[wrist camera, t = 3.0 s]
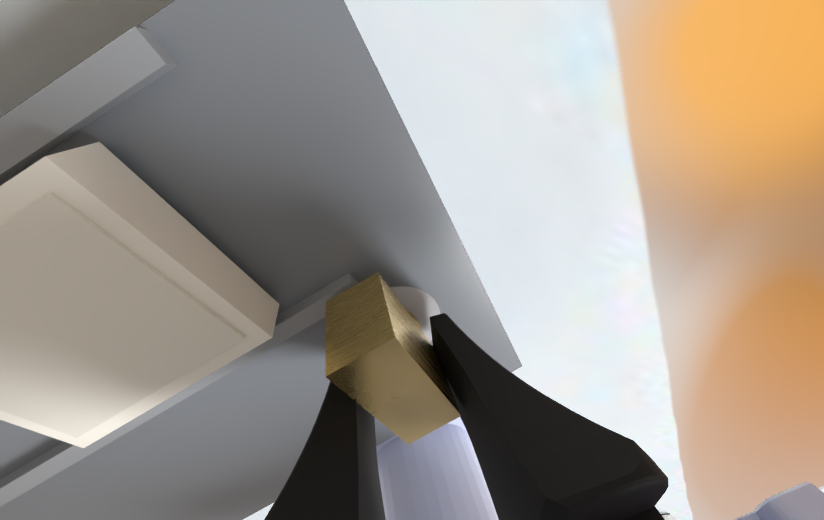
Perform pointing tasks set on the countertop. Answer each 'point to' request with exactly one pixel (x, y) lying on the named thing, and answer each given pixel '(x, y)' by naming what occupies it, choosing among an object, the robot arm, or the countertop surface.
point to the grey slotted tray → (244, 241)
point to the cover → (109, 298)
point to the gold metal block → (386, 361)
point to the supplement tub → (668, 517)
